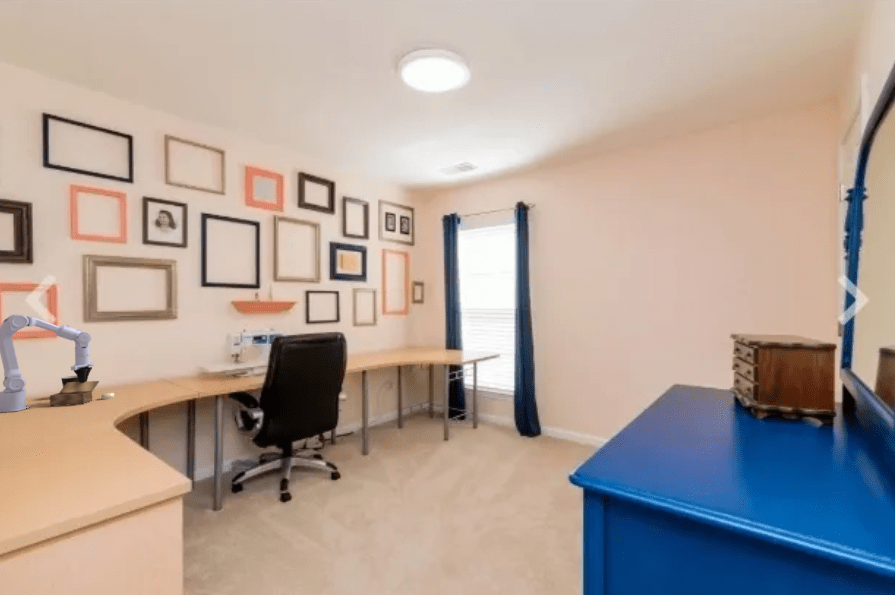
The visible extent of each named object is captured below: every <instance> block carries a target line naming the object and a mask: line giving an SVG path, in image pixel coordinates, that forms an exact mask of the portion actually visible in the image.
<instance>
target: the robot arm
mask: <svg viewBox="0 0 895 595" xmlns="http://www.w3.org/2000/svg"><path fill="white" fill-rule="evenodd" d="M25 327H29V328H30V327H36V328H40V329H44V330H46V331H47V330H48V331H50V332H54V333H55V335H56V337H59V338H63V339H65V340H68V341H73V342H74V352H75V353H74V360H75V362H74V365H72V366H70V371H73V372H74V374H75V376H77V377H78V379H79V382H80V383H84V382H87V381H88V378H89V375H90V374H91V371H92V369H93V367H94V366H95V361H91V348H90V342H91V340H92V337H91V335H90V333H88V332H84V331H82V330H81V329H76V328H74V327H71V325H68V324H67V325H64V324H62V325H60V326H59V325H57V324H56V325H55V324H53V323H51V322H48V321H45V320H43V319H40V318H37V317H32V316H28V315H27V316H26V315H24V314H11V315H9V316H8V317H7V318H4V320H3V321H2V323H1V325H0V358H1V361H2V362H1V363H2V366H3V372H4V374H3V376H4V379H3V381H2V385H3V387H4V390H2V391H0V413H10V412H11V413H12V412H20V411H23V410H26V408H27V409H29V407H30V408H31V407H32V406H28V405H27V406H26V400H27V399H26V393H27V392H26V391H27V390H26V385H27V381H26V379H24V377H23V376H22V373H21V370H20V368H19V367H20V366H19V362H18V358H17V355H16V349H15V346H14V341H13V336H14V335H15V334H16V333H17V332H18V331H20V330H22V329H23V328H25Z"/></svg>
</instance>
